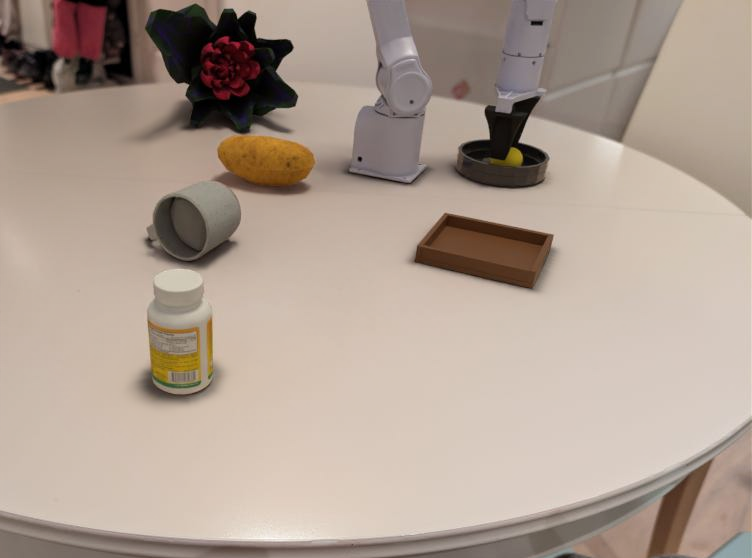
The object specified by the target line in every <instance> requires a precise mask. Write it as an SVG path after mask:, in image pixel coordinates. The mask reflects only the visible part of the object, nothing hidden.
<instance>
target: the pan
mask: <svg viewBox="0 0 752 558" xmlns="http://www.w3.org/2000/svg"><path fill="white" fill-rule="evenodd" d="M511 147H513V148H516V149H518V150H519V151H520V152H521V154H522V156H523V162H522V164H521V166H520V167H512V166H500V165H494V164H488V163H484V162H481V161H482V160H483V159H484V158H491V156H490V138H481V139H474V140H468V141H465V142H463V143H461V144H460V145H459V146H458V147H457V152H456V159H455V169H456V170H457V171H458V172H459V173H460V174H461V175H462V176H463V177H465V178H467V179H469V180H472V181H474V182H477V183H481V184H484V185H489V186H496V187H505V188H518V187H519V188H520V187H521V188H522V187H527V186H532V185H535V184H537V183H539V182H542V181H543V180H544V179H545V177H546V176H547V171H548V169H549V168H548V167H549V164H550V156H549V154H548V153H547V152H546V151H544V150H543V149H541V148H539V147H537V146H534V145H531V144H527V143H524V142H520V141H519V142H518V144H517V145H516V146H513V145H512V146H511Z"/></svg>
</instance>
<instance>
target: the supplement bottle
mask: <svg viewBox="0 0 752 558" xmlns="http://www.w3.org/2000/svg"><path fill="white" fill-rule="evenodd" d="M152 281H153V282H152V285H153V287H152V288H153V295H154V298H153V299H152V300H151V301H150V302H149V304H148V306H147V308H146V319H147V320H146V321H147V331H148V344H149V359H150V369H151V371H150V372H151V379H152V382H153V384H154V386H156V387H157V388H158V389H160V390H161V391H163V392H165V393H168V394H173V395H190V394H193V393H198V392H199V391H201V390H203V389H205V388H206V387H207V386H209V384H210V383H211V382H212V380H213V376H214V346H213V345H214V344H213V343H214V342H213V341H214V337H213V336H214V335H213V333H214V332H213V307H212V305H211V303H210V300H208V298H207V297H205V296H204V294H205V287H204V284H205V283H204V277H203V276H202V274H200V273H199V272H197V271H194V270H192V269H187V268H171V269H167V270H163V271H161V272H159V273H157V274H156V275H155V277H154V278H153V280H152Z"/></svg>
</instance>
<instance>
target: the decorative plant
mask: <svg viewBox="0 0 752 558" xmlns="http://www.w3.org/2000/svg"><path fill="white" fill-rule="evenodd" d="M257 19H258V17H257V13H256V12H254V11H252V10H250V9H249V10H247V11H245V12H243V13H242V14H241V15H240V16H239V17H238V13H237V12H236V11H235V10H234V8H230V7H229V8H223V9H222V12H221V13H220V16H219V19H218V21H217V24H215V23H214V22H213V21H212V20H211V18H210V16H209V15H208V12H207V11H206V9H205V8H204V7H203V6H201V5H200V4H198V3H193V4H190V5H188V6H186V7H183V8H181V9H179V10H177V11H176V10H170V9H164V8H158V9H156V10H153V11H150V13H149V16H148V18H147V21H146V24H145V27H144V30H145V31H146V33H147V35H148V37H149V38H150V39H151V41H152V43H153V44H154V45H155V46H156V48H157V49H158V51H159V52H160V54H161V57H162V60H163V64H164V67H165V69H166V71H167V73H168V75H169V77H170V78H171V79H172V80H173V81H174V82H175V83H176V84H177V85H178V84H179V85H180V84H185V85H188V87H187V88H186V91H185V98H186V99H187V100H188V101H189V102H190V103H191V106H192V107H191V112H190V116H189V126H192V127H194V128H199V126H201V125H202V124H203V123H204V122H205V121H206V120H207V118H208V117H209V116H211V114H212V113H214V112H216V111H217V112H218V113H219V114H220V115H223V116H224V117H226V118H227V119H230V120H231V121H232V122H233V124H234V126H235V127H236V129H237V130H238V131H239V132H240V133H244V132H247V131H250V129H251V127H252V123H253V117H260V118H261V117H263V116H265V115H267V114H269V113H271V112H273V111H274V110H277V109H292V108H295V107H297V103H298V99H299V94H297V92H296V90H295V89H293V87H291V86H290V85H289V84H288V83H287V82H285V81H284V79H282V76H280V75H279V74H278V72H277V71H278V69H279V67H280V65H281V63H282V61H283V60H284V59H285V58H286V57H287V56H288V55H289V54H291V53H292V52H293V50H294V48H295V47H294V44H293V42H292V40H290V39H288V38H277V39H271V38H270V39H268V38H262V37H257V33H256V24H257Z"/></svg>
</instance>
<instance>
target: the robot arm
mask: <svg viewBox="0 0 752 558" xmlns="http://www.w3.org/2000/svg"><path fill="white" fill-rule="evenodd" d="M558 1H559V0H511V3H510V7H509V12H508V16H507V21H506V27H505V33H504V38H503V43H502V50H501V54H500V60H499V66H498V71H497V75H496V76H497V77H496V82H495V84H494V85H493V92H494V94H495V96H496V98H497V99H496V103H495V104H496V105H491V104H490V105H489V104H487V105H486V106H485V107H484V117H485V119H486V123H487V126H488V127H487V128H488V133H489V134H488V135H489V139H490V156H491V158H492V159H498V160H505V159H506V158H507V156H508V154H509V151H510V148H511V146H512V145H513V146H516V145H517V144H518V142H520V140H521V137H522V135H523V133H524V130H525V127H526V124H527V122H528V120H529V118H530V116H531V114H532V112H533V110H534V108H535V107H536V106H537V104H538V103H539V102H540V100H541V97H545V95H547V91H548V90H547V88H544V87H540V86H539V85H540V81H541V75H542V70H543V67H544V61H545V58H546V57H545V56H546V52H547V47H548V42H549V38H550V34H551V29H552V23H553V19H554V12H555V10H556V9H555V7H556V4H557V3H558ZM366 6H367V10H368V14H369V19H370V24H371V27H372V32H373V35H374V41H375V55H376V60H377V69H376V73H375V85H376V88H377V90H378V91H379V93H380V95H379V97H378V98H377V100H376V102H374V105H364V106H363V105H362V107H361V108H360V110H359V112H358V114H357V116H356V120H355V124H354V130H353V142H352V153H351V164H350V168H349V170H348V171H349V173H355V174H359V175H365V176H369V177H376V178H380V179H384V180H385V179H386V180H391V181H396V182H400V183H407V184H411V183H412V182H413V181H414V180H415V179H416V178H417V177H418V176H419V175H420V174H421V173H422V172H423V171H424V170H425V169H427V165H426V164H425V163H421V162H420V155H421V149H422V148H421V147H422V139H423V133H424V127H425V118H426V112H427V111H426V110H427V105H428V104H429V103H430V100H431V98H432V96H433V83H432V80H431V78H430V76H429V75H428V73H427V72H426V70H424V68H423V66H422V64H421V59H420V56H419V52H418V50H417V46H416V44H415V41H414V38H413V35H412V30H411V26H410V20H409V16H408V11H407V6H406V1H405V0H366Z"/></svg>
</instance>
